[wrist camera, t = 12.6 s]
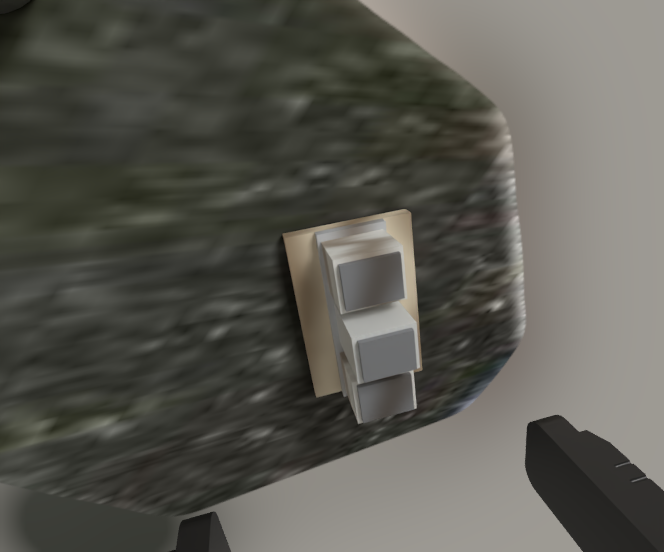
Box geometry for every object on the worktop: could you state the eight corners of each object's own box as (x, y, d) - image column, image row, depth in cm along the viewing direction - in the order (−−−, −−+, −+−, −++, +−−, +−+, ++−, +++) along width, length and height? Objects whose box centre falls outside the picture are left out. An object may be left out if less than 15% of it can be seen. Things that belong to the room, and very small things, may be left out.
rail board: (314, 389, 46) (328, 442, 38) (282, 233, 38) (292, 262, 31) (417, 362, 47) (449, 408, 40) (404, 208, 40) (441, 231, 33)
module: (339, 341, 41) (359, 387, 34) (333, 301, 39) (352, 341, 32) (392, 328, 42) (422, 371, 35) (388, 288, 40) (419, 325, 33)
